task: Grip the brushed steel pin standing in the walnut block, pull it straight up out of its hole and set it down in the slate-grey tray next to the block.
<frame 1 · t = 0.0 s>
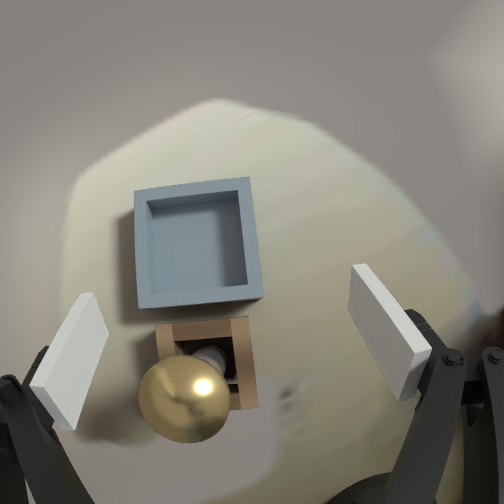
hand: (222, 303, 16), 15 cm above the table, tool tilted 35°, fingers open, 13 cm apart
tray: (199, 248, 32), on the table
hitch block: (210, 361, 30), on the table
pin: (200, 375, 22), in the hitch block
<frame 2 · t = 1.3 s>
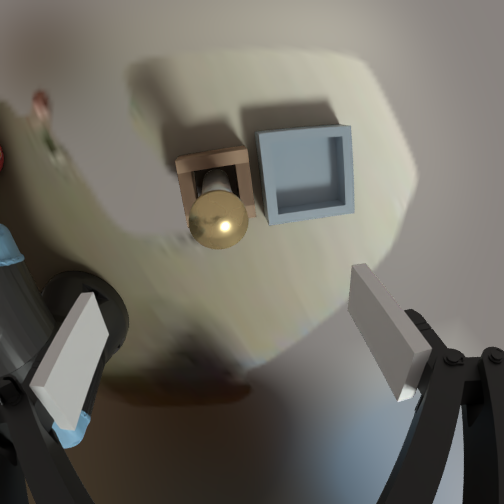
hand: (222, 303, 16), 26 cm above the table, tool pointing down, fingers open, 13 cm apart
tray: (302, 169, 40), on the table
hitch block: (216, 181, 39), on the table
pin: (216, 197, 32), in the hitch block
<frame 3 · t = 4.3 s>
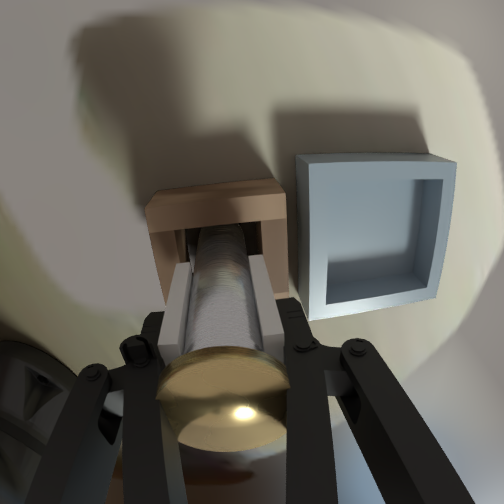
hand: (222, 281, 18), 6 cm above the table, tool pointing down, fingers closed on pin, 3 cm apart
tray: (367, 224, 24), on the table
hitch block: (221, 238, 23), on the table
pin: (222, 295, 16), in the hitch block, touching gripper
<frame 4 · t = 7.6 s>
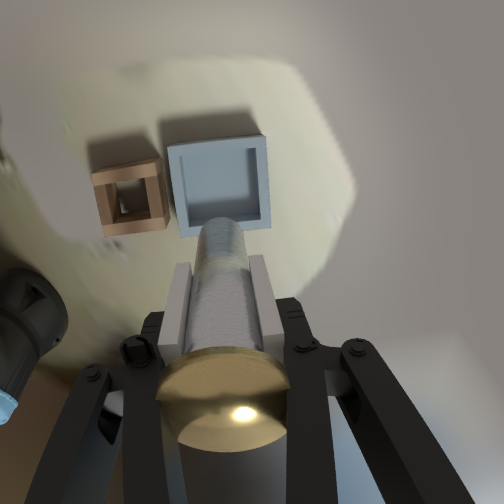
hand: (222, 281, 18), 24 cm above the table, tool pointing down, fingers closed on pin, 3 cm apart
tray: (220, 181, 40), on the table
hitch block: (135, 192, 39), on the table
pin: (222, 296, 16), point 26 cm above the table, touching gripper
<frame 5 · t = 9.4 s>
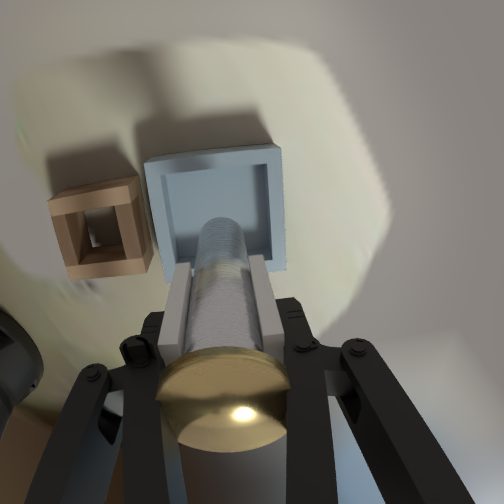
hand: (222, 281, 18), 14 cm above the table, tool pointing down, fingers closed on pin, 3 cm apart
tray: (218, 206, 30), on the table
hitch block: (108, 221, 29), on the table
pin: (222, 296, 16), point 15 cm above the table, touching gripper
when the fingers open (9 cm above the table, at t = 11.1 s): pin drops 2 cm, resting on tray.
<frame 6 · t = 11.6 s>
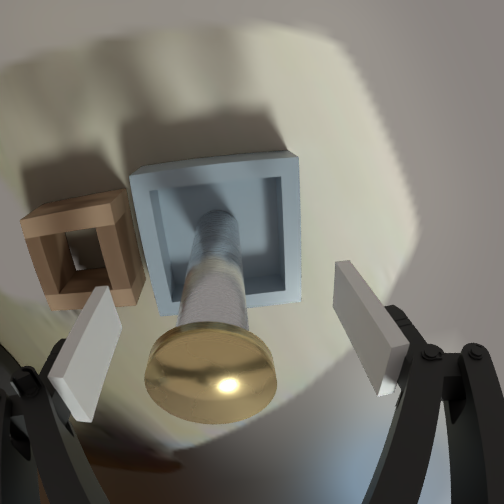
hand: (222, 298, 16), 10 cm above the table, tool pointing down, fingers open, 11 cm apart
tray: (221, 226, 25), on the table
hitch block: (92, 241, 25), on the table
pin: (214, 282, 18), in the tray, point 8 cm above the table
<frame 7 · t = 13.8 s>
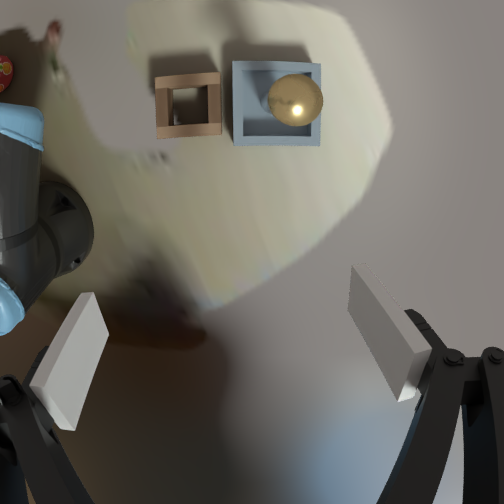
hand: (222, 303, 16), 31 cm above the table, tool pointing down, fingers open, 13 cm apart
tray: (274, 103, 40), on the table
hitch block: (191, 105, 39), on the table
smoothie: (2, 75, 33), on the table
pin: (282, 101, 32), in the tray, point 8 cm above the table
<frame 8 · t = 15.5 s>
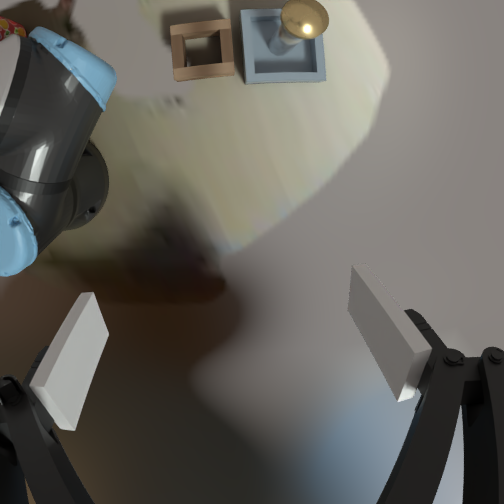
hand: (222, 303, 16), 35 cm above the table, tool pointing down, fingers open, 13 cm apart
tray: (280, 47, 40), on the table
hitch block: (203, 52, 39), on the table
smoothie: (15, 42, 33), on the table
pin: (290, 33, 32), in the tray, point 8 cm above the table
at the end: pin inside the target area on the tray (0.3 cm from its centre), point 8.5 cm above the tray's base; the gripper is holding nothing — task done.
